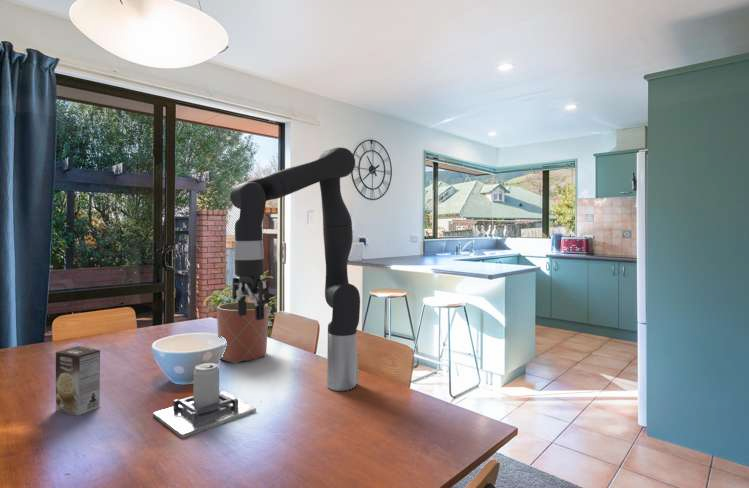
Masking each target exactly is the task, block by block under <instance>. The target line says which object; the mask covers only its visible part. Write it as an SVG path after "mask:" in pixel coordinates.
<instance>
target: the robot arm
mask: <svg viewBox="0 0 749 488" xmlns="http://www.w3.org/2000/svg"><path fill="white" fill-rule="evenodd" d="M355 167H356V158H355V156H354V154H353V153H352V151H351V150H349V149H348V148H346V147H334V148H331V149H327V150H324V151H323V152H321V153H320V154H319V155H318V158H317V159H316V160H312V161H310V162H307V163H306V162H305V163H304V164H299V165H295V166H291V167H287V168H284V169H281V170H279V171H278V170H277V171H276V172H272V173H269V174H268V175H266V176H263V177H260V178H256V179H253V180H249V181H245V182H241V183H239V184H237V185H235V186H234V187H233V188H232V189H231V191H230V194H229V200H230V203H231V204H232V206H234V207H235V208H237V209H239V218H237V220H236V221H235V224H234V249H233V250H234V275H235V276H236V277H233V278H232V299H233V300H235V302H238V315H239V316H244V315H246V314H247V311H246V302H247V299H248V297H249V298H250V299H251V300H252V302H254V303H255V319H256V320H262V319H264V305H265V304H270V289H269V287H270V286H269V280H262V279H261V276H263V275H264V274H265V257H264V256H265V255H264V252H265V251H264V245H263V221H264V216H265V213H266V212H265V210H266V202H267V201H272V200H277V199H280V198H283V197H286V196H288V195H291V194H293V193H296V192H298V191H300V190H303V189H305V188H307V187H310V186H312V185H314V184H317V183H319V188H320V196H321V209H322V210H321V211H322V235H323V244H324V245H323V246H324V260H325V284H324V298H325V301H326V304H327V305H328V306H329V307H330V308H331V309H332V312H331V314H332V315H331V321H330V322H329V323H328V324H327V352H326V353H327V354H326V355H327V357H326V358H327V359H326V361H327V363H326V366H327V367H326V376H327V377H326V378H327V379H326V384H327V385H326V387H327V389H329V388H330V390H331V391H337V392H339V391H340V392H343V391H345V390H346V391H350V390H349V389H351V390H353V389H354V387H355V388H356V386H357V385H359V354H357V340H358V339H357V337H358V336H357V332H358V326H359V324H360V315H361V312H360V311H361V294H360V291H359V290H358V288H357V287H356V286H355V285H354V284H352V283H350V282H349V276H348V263H349V258H350V254H351V250H352V245H353V238H354V237H353V236H354V235H353V222H352V221H353V220H352V216H351V214H350V212H349V210H348V207H347V206H346V203H345V202H344V201H345V200H344V199H343V196H342V192H341V179H342V178H345V177H349V175H351V174H352V173H353V172H354V169H355ZM356 384H357V385H356ZM352 388H353V389H352ZM346 391H345V392H346Z"/></svg>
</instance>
